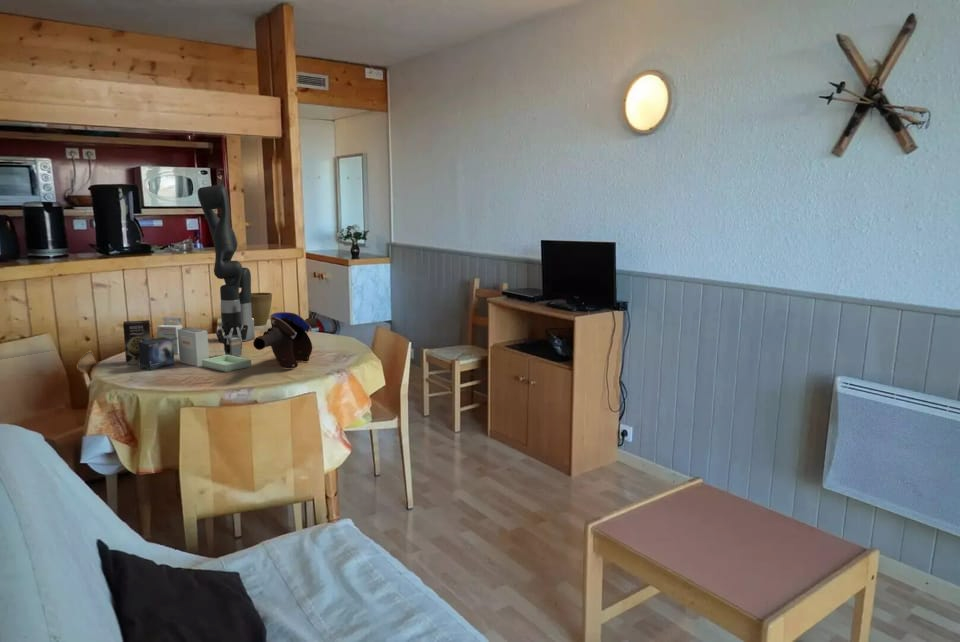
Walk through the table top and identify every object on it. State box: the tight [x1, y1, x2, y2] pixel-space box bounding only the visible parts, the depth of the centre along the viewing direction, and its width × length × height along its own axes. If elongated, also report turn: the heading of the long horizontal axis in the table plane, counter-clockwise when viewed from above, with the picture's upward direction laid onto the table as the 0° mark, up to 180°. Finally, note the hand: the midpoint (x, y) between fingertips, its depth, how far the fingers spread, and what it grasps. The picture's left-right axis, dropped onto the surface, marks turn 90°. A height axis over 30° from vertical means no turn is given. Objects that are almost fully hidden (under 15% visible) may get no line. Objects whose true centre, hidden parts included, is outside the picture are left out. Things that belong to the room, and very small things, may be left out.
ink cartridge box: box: [156, 316, 183, 356], centre depth 263 cm, size 9×5×15 cm, turn 84°
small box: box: [138, 337, 176, 372], centre depth 241 cm, size 11×6×10 cm, turn 148°
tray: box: [201, 354, 252, 373], centre depth 244 cm, size 11×15×3 cm
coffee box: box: [122, 320, 151, 365], centre depth 248 cm, size 9×6×16 cm
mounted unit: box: [177, 327, 210, 367], centre depth 248 cm, size 6×12×13 cm, turn 56°
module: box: [224, 337, 243, 357], centre depth 259 cm, size 5×5×7 cm
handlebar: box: [252, 311, 318, 369], centre depth 246 cm, size 45×13×20 cm, turn 170°
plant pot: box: [251, 292, 273, 327], centre depth 330 cm, size 15×15×16 cm
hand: (233, 351), depth 259 cm, fingers closed on module, 4 cm apart
